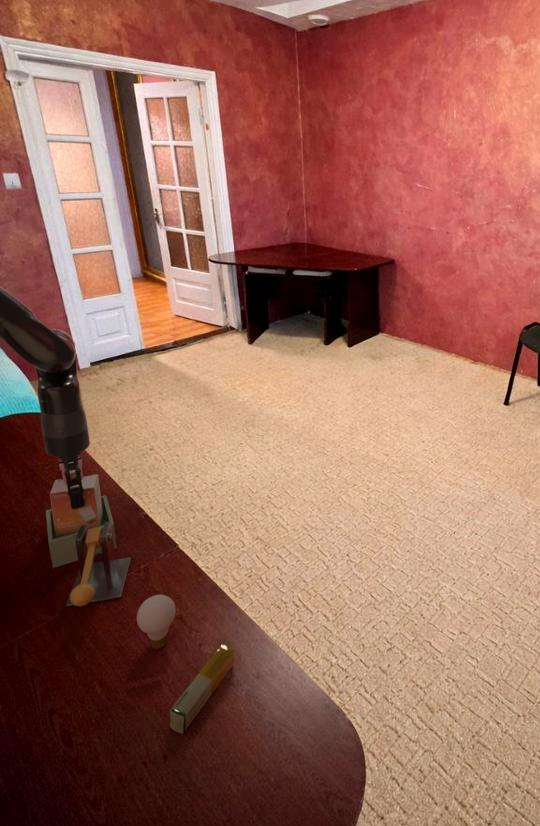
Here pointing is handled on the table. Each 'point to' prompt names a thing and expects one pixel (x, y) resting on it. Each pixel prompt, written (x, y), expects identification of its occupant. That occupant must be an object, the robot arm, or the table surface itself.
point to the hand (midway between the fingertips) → (76, 498)
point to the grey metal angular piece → (102, 567)
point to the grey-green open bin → (72, 538)
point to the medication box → (201, 689)
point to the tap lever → (87, 570)
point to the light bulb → (156, 619)
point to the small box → (74, 518)
